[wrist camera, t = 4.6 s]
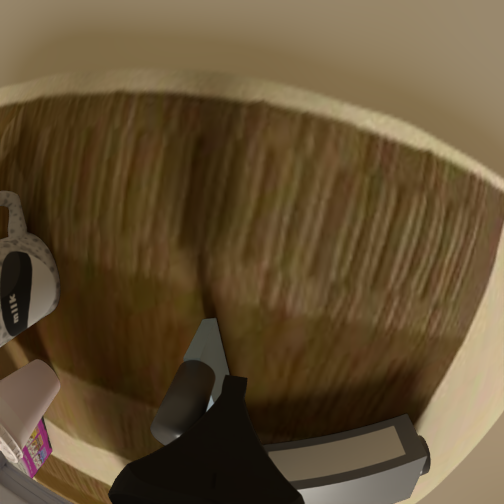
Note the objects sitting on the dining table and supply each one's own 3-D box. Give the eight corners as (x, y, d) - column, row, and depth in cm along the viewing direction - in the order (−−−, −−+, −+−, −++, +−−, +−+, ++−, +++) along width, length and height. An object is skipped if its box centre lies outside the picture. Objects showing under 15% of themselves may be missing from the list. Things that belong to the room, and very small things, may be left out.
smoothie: (15, 346, 19) (-73, 418, 6) (50, 345, 19) (-54, 440, 5) (43, 398, 21) (-26, 478, 7) (82, 404, 20) (7, 506, 6)
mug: (66, 322, 18) (11, 364, 11) (15, 304, 18) (-35, 334, 12) (56, 187, 16) (-17, 195, 9) (5, 188, 16) (-56, 197, 9)
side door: (256, 448, 19) (248, 533, 11) (234, 448, 19) (220, 532, 11) (224, 316, 16) (188, 419, 8) (195, 319, 16) (142, 415, 8)
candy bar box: (12, 384, 21) (-64, 459, 5) (42, 407, 21) (-32, 496, 5) (27, 432, 24) (-27, 499, 8) (53, 451, 24) (3, 525, 8)
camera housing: (258, 488, 21) (256, 527, 16) (238, 446, 19) (231, 493, 14) (407, 457, 19) (421, 493, 14) (419, 408, 18) (441, 449, 13)
